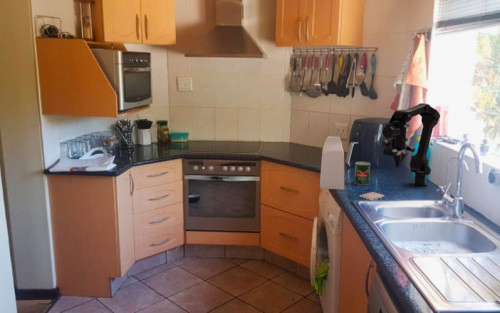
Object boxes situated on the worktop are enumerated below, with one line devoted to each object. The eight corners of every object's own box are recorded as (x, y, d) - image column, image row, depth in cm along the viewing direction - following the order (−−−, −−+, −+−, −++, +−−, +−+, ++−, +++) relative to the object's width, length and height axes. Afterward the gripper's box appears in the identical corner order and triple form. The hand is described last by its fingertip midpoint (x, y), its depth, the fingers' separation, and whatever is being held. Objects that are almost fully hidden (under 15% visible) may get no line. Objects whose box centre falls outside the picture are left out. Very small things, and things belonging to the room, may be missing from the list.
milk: (320, 188, 227) (321, 138, 222) (319, 182, 238) (321, 134, 233) (344, 189, 226) (346, 138, 220) (342, 183, 237) (344, 135, 231)
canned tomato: (358, 185, 233) (359, 165, 230) (351, 181, 240) (352, 162, 238) (372, 184, 235) (373, 164, 233) (364, 180, 242) (365, 161, 240)
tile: (372, 191, 218) (359, 195, 213) (384, 195, 212) (371, 198, 207) (372, 194, 218) (359, 198, 213) (384, 198, 212) (371, 201, 208)
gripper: (397, 132, 230) (395, 162, 233) (374, 135, 219) (372, 166, 222) (416, 135, 221) (414, 166, 224) (393, 138, 210) (391, 171, 213)
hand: (397, 167), depth 221 cm, fingers closed
